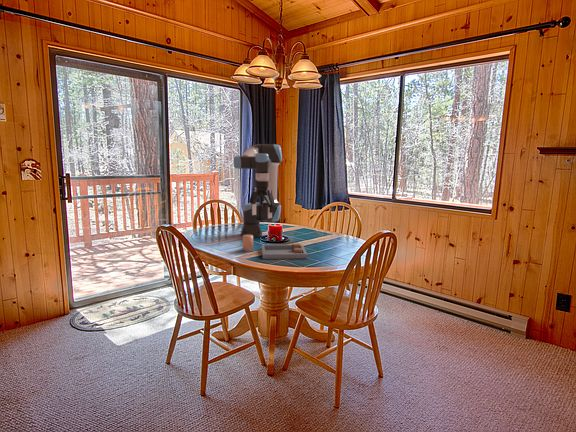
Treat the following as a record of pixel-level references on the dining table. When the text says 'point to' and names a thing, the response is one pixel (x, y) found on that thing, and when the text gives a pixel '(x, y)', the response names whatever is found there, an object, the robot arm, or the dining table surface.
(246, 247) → the tan u-shaped piece
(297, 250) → the cube
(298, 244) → the cube
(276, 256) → the tray
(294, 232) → the dining table surface
